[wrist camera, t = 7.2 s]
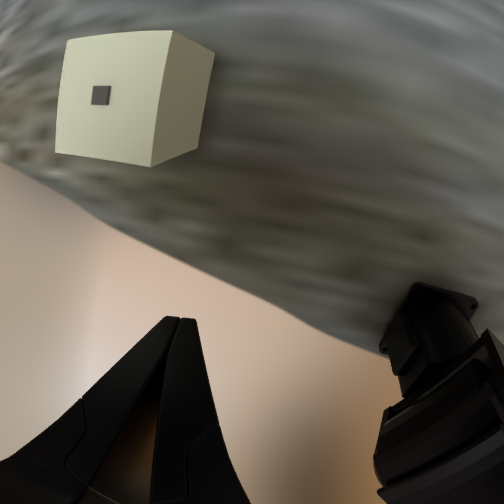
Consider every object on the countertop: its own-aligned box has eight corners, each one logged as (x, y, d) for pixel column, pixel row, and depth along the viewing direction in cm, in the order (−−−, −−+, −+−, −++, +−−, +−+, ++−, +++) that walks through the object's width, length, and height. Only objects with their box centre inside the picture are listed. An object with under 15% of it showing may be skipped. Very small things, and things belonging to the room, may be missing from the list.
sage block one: (215, 53, 14) (170, 29, 9) (197, 148, 17) (147, 168, 12) (125, 51, 15) (60, 40, 9) (113, 135, 18) (48, 153, 12)
